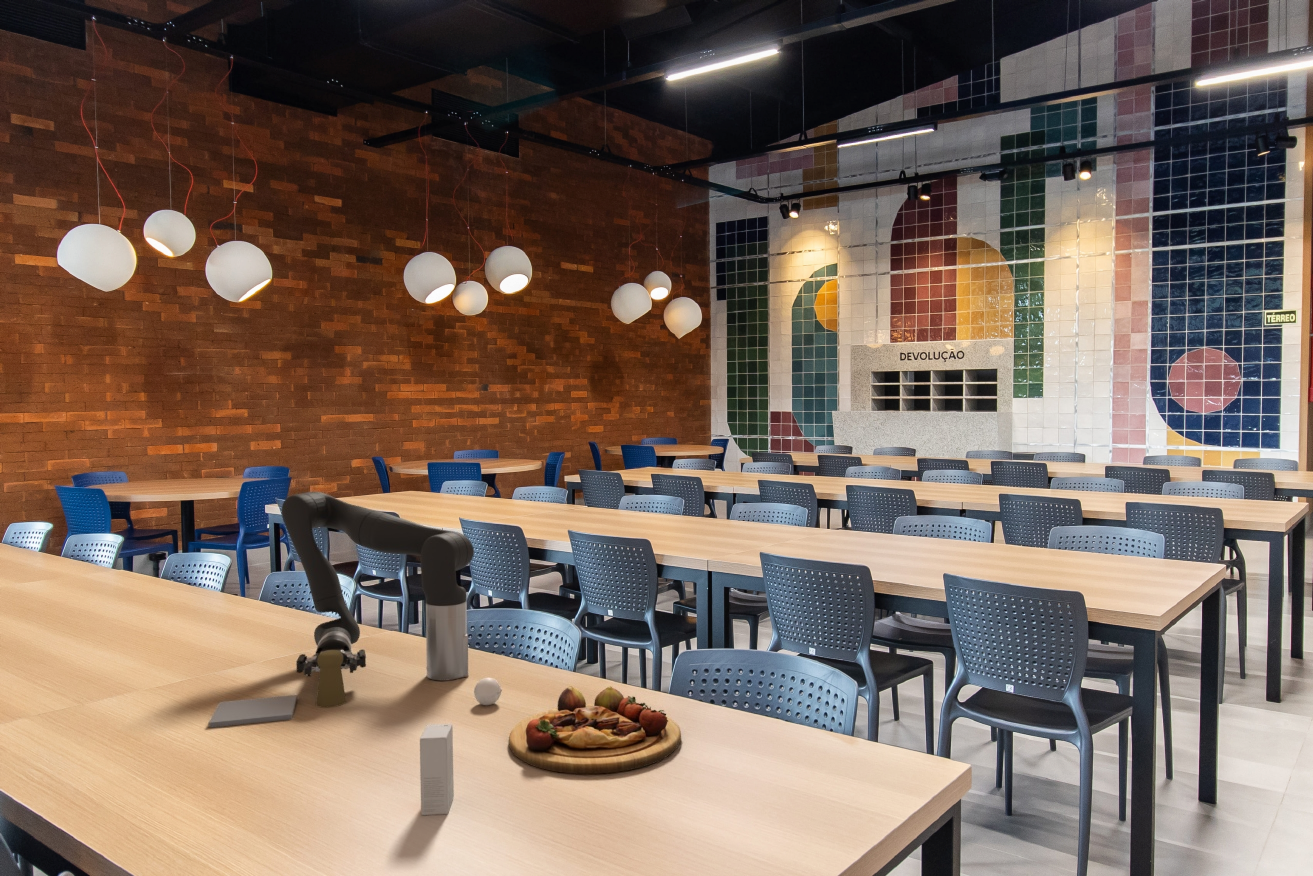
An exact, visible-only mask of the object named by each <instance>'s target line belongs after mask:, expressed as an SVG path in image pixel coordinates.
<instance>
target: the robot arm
mask: <svg viewBox="0 0 1313 876" xmlns="http://www.w3.org/2000/svg"><path fill="white" fill-rule="evenodd" d="M281 517H282V521H283V523H284V526H285V528H286V531H287V533H288V535H289V537H290V540H291V542H292V545H293V548H294V549H295V552H296V554H297V556H298V558H299V561H300V564H301V565H302V567H303V570H304V573H305V575H306V579H307V582H308V586H309V590H310V595H311V599H312V602H313V606H314V609H315V611H316V612H317V613H336V614H337V615H339V617H340V618H336V619H332V620H330V621H326V622H322V623H320V624H318V625H317V626H316V627H315V629H314V632H313V637H314V642H315V644H316V646H317V647H316V651H315V654H313V655H312V656H311V657H308V656H307V655H306V654H305V653H302V654H301V653H300V654H299V655H298V658H297V660H296V661H295V662H296V673H298V674H301V673H303V674H304V675H305V676H306V677H307V678H308V677H312V673H313V672H316V673H319V672H320V667H319V666H318V663H317V658H318V655H319V654H320V653H321V652H323V651H327V650H338V651H341V653H342V654H343V663H342V664H341V670H348V669H349V673H350V674H353V673H354V672H355V671H358V670H357V669H358V667H360V668H366V667H367V662H366V661H367V660H366V659H367V656H366V651H365V649H359V650H358V651H357V653H353V652H352V645H353V644H355V643H357V642H358V641H359V639H360V636H361V630H360V626H359V624H358V623H357V621H356V619H355V618H354V615H353V614H352V613H351V611H350V608H349V607H348V606H347V603H346V601H345V598H344V594H343V590H342V585H341V583H340V582H341V581H340V578H339V575H338V573H337V571H336V569H335V567H334V566H333V565H332V564H331V562H330V561H329V560H328V558H327V557H326V556H325V555H324V553H323V552H322V550H321V549H320V548H319V546H318V544H317V542H316V540H315V537H314V532H313V529H317V528H329V529H333V530H337V531H341V532H343V533H345V534H346V535H347V536H348V538H350V540H352V542H353V543H355V544H357V545H358V546H361V547H363V548H366V549H369V550H372V551H376V552H380V553H386V554H393V555H394V554H395V555H411V556H412V555H414V556H420V572H421V573H420V575H421V587H422V591H423V593H424V596H425V622H426V623H425V624H426V625H425V627H426V628H425V629H426V631H425V632H426V633H425V635H426V636H425V638H426V641H425V642H426V646H425V647H426V678H427V679H430V680H435V681H452V680H457V679H461V678H464V677H469V636H468V625H467V624H468V623H467V621H468V620H467V619H468V617H467V616H468V615H467V612H468V611H467V608H468V607H467V604H468V603H467V590H466V588H464V587H463V586H460V585H458V583H457V572H456V571H460V570H461V569H463V568H465V567H467V566H468V565H469V564H470V563H471V562H472V560H473V559H474V555H475V550H474V546H473V543H472V541H470V539H469V538H468V537H467V536H466V535H465V534H463V533H461V532H460V531H459V532H458V531H454V530H447V529H440V528H436V527H435V528H434V527H431V526H426V525H423V524H420V523H417V522H414V521H411V520H407V519H404V518H402V517H398V516H395V515H392V514H390V513H386V512H383V511H379V510H375V509H370V508H367V507H365V506H361V505H355V504H352V503H349V502H345V501H343V500H340V499H338V498H336V497H334V496H331V495H330V494H327V493H325V492H323V491H322V492H321V491H307V492H302V493H297V494H296V493H295V494H292V495H289V496H288V497H286V499H285V500H284V501H283V503H282V505H281Z"/></svg>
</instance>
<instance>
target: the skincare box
mask: <svg viewBox="0 0 1313 876" xmlns="http://www.w3.org/2000/svg"><path fill="white" fill-rule="evenodd" d="M453 732H454V731H453V724H452V723H445V724H444V723H442V724H439V723H438V724H427V725H426V724H425V727H424V729H423V732H422V733H421V736H420V738H419V763H420V764H419V765H420V769H419V770H420V771H419V774H420V775H419V777H420V813H421V814H420V815H422V816H433V815H435V816H437V815H448V814H449V811H450V809H451V806H452V803H453V801H454V797H455V796H454V795H455V794H454V793H455V792H454V791H455V790H454V787H455V786H454V785H455V784H454V748H453V747H454V746H453V745H454V738H453Z"/></svg>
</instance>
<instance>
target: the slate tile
mask: <svg viewBox="0 0 1313 876" xmlns="http://www.w3.org/2000/svg"><path fill="white" fill-rule="evenodd" d="M297 701H298V695H297V694H292V695H291V694H289V695H281V696H269V697H260V698H250V699H238V700H230V701H229V700H226V701H220V702H219V703H218V705H217V706H216V709H215V710H214V712H213V714H212V715H211V718H210V720H209V722H208V728H218V727H219V728H220V727H231V726H242V725H250V724H258V723H259V724H260V723H268V722H279V721H287V720H288V721H289V720H292V719H293V717H294V712H295V709H296V705H297Z"/></svg>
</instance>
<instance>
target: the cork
mask: <svg viewBox="0 0 1313 876" xmlns="http://www.w3.org/2000/svg"><path fill="white" fill-rule="evenodd" d="M317 663H318V666H319V667H320V671H319V672H318V673H319V674H318V684H317V690H316V691H317V693H316V701H315V706H316V707H320V708H333V707H338V706H341V705H343V704H345V703H346V702H347V699H346V693H345V685H344V680H343V673H342V669H341V664H342V663H343V654H342V653H341V651H338V650H327V651H323V652H321V653H320V654H319V655H318V658H317Z"/></svg>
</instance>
